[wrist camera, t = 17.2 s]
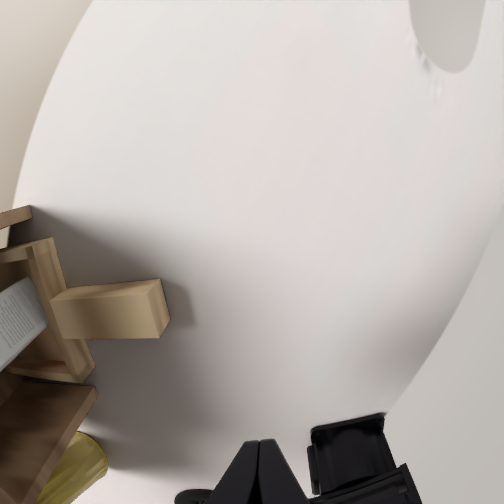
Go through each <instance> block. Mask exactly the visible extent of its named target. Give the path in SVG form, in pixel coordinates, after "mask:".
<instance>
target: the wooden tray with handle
mask: <svg viewBox="0 0 504 504" xmlns="http://www.w3.org/2000/svg"><path fill="white" fill-rule="evenodd" d="M27 276H29V277H30V279H31V280H32V281H33V283H34V284H35V286H36V288H37V291H38V294H39V297H40V300H41V303H42V306H43V309H44V312H45V314H46V317H47V320H48V323H49V326H48V327H47V328H46V329H44V330H43V331H42V332H41V333H40V334H39V335H38V336H37V337H36V338H35V339H34V340H33V341H32V342H31V343H30V344H29V345H28V346H27V347H26V348H25V349H24V350H23V351H22V352H20V353H19V354H18V355H17V356H16V357H15V358H14V359H13V360H12V361H11V362H10V363H9V364H8V365H7V366H6V367H5V369H6V371H7V373H13V374H18V375H24V376H30V377H36V378H43V379H49V380H57V381H65V382H73V383H83V382H84V380H85V379H86V378H87V376H88V375H89V374H90V372H91V371H92V370H93V369H94V367H95V363H94V361H93V359H92V356H91V354H90V351H89V349H88V346H87V344H86V341H85V339H144V338H160V336H161V334H162V333H163V331H164V329H165V328H166V326H167V324H168V323H169V321H170V316H169V312H168V308H167V304H166V300H165V297H164V293H163V289H162V285H161V280H160V279H152V280H142V281H132V282H123V283H113V284H102V285H92V286H82V287H73V288H67V287H66V283H65V280H64V276H63V273H62V269H61V266H60V262H59V259H58V255H57V251H56V247H55V243H54V239H53V237H50V238H45V239H41V240H37V241H32V242H28V243H24V244H19V245H15V246H11V247H7V248H6V247H5V248H1V249H0V292H2V291H3V290H5V289H7V288H8V287H10V286H11V285H13V284H15V283H16V282H18V281H20V280H21V279H23V278H25V277H27Z"/></svg>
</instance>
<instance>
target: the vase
mask: <svg viewBox="0 0 504 504" xmlns="http://www.w3.org/2000/svg"><path fill="white" fill-rule="evenodd" d="M107 470H108V462H107V458H106V456H105V454H104V452H103V450H102V449H101V447H100V446H99V445H98V444H97V443H96V442H95V441H94V440H93V439H92V438H90V437H89V436H87V435H85V434H83V433H80V432H76V433H75V434H74V436H73V438H72V439H71V441H70V443H69V444H68V446H67V448H66V450H65V451H64V453H63V455H62V456H61V458H60V460H59V462H58V463H57V465H56V467H55V468H54V470H53V472H52V474H51V476H50V477H49V479H48V481H47V483H46V484H45V486H44V488H43V490H42V492H41V493H40V495H39V497H38V499H37V501H36V503H35V504H70V503H72V502H73V501H74V500H75V499H76V498H77V497H78V496H79V495H81V493H83V492H84V491H85V490H87V489H88V488H89V487H90V486H91V485H92V484H94V483H95V482H96V481H97V480H99V479H100V478H102V477H103V476H104V475H105V474H106V473H107Z"/></svg>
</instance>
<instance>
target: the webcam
mask: <svg viewBox="0 0 504 504" xmlns="http://www.w3.org/2000/svg"><path fill="white" fill-rule="evenodd" d="M212 492H213V491H208V490H186V491H183V492H180V493H179V494H178V495H177V496H176V497H175V500H174V503H175V504H199V503H197V502H196V501H207V499H208V498H209V496H210V495H211V493H212Z"/></svg>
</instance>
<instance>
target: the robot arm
mask: <svg viewBox="0 0 504 504" xmlns="http://www.w3.org/2000/svg"><path fill="white" fill-rule="evenodd" d="M384 420H385V419H384V416H383V414H376V415H372V416H368V417H363V418H359V419H355V420H350V421H346V422H341V423H336V424H331V425H325V426H320V427H315V428H312V429H311V431H310V433H311V442H312V445H311V446H308V447H307V454H308V462H309V470H310V478H311V487H312V494H314V495H320V496H318V497H314V498H310V499H308V498H307V497H306V496H305V494H304V492H303V490H302V488H301V487H300V485H299V483H298V481H297V479H296V478H295V476H294V474H293V472H292V470H291V469H290V467H289V465H288V463H287V461H286V459H285V458H284V456H283V454H282V452H281V450H280V448H279V446H278V444H277V442H276V441H275V439H264V440H261V441H258V440H253V441H246V442H244V443H243V445H242V447H241V448H240V450H239V451H238V453H237V455H236V456H235V458H234V460H233V461H232V463H231V464H230V466H229V467H228V469H227V471H226V472H225V474H224V475H223V477H222V478H221V480H220V481H219V483H218V484H217V486H216V487H215V489H214V490H213V492H212V493H211V495H210V496H209V498H208V499H207V501H206V502H205V504H422V501H421V499H420V496H419V494H418V491H417V489H416V486H415V484H414V481H413V479H412V476H411V474H410V472H409V469H408V467H407V465H406V463H404V464H402V465H400V467H398V468H396V465H395V462H394V460H393V457H392V454H391V451H390V449H389V446H388V443H387V441H386V438H385V435H384V433H383V428H384ZM315 432H316V433H315Z"/></svg>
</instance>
